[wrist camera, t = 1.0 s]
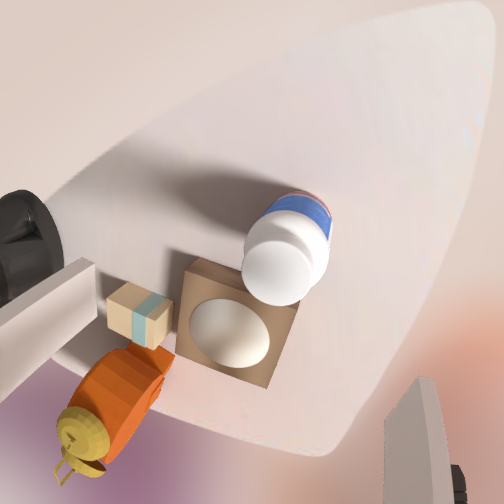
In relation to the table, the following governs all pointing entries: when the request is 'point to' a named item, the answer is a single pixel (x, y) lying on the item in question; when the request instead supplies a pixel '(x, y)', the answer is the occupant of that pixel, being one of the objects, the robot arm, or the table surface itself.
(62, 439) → the alarm clock
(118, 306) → the carton
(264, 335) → the podium
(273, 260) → the pill bottle
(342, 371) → the table surface
